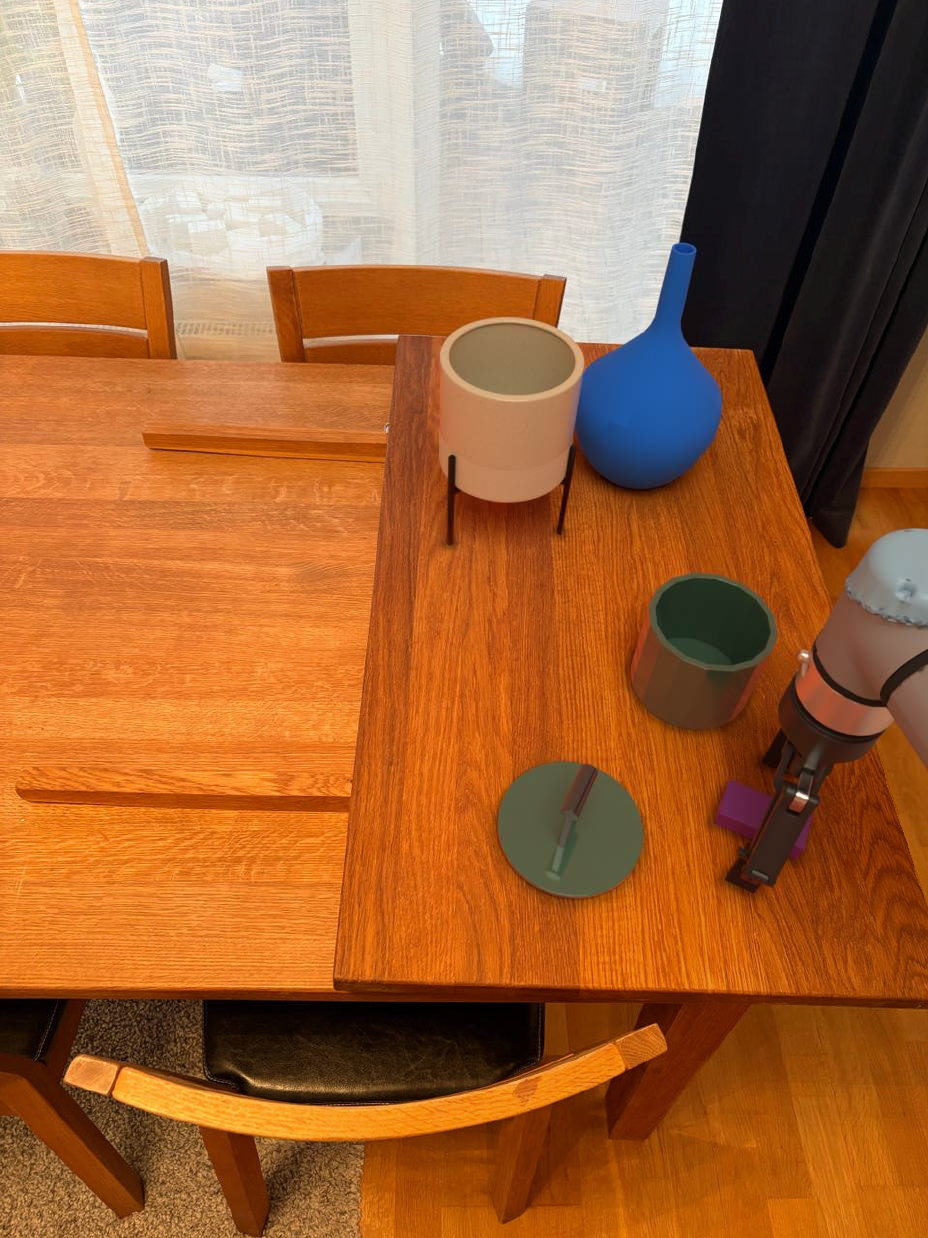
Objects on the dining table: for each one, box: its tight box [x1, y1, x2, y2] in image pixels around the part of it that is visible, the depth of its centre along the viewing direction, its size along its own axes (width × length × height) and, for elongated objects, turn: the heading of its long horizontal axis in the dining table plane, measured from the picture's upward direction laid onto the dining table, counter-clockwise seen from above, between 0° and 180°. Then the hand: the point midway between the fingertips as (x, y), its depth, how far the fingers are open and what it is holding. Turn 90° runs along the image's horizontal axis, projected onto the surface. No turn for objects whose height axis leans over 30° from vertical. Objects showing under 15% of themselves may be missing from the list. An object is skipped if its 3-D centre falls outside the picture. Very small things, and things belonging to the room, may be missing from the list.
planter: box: [438, 316, 585, 546], centre depth 99 cm, size 15×16×23 cm
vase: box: [574, 242, 723, 490], centre depth 103 cm, size 18×18×30 cm
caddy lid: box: [496, 761, 644, 900], centre depth 77 cm, size 14×14×8 cm
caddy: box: [630, 572, 779, 731], centre depth 88 cm, size 12×12×10 cm
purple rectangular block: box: [713, 779, 814, 860], centre depth 81 cm, size 8×4×2 cm, turn 64°
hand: (759, 821), depth 82 cm, fingers open, 13 cm apart
